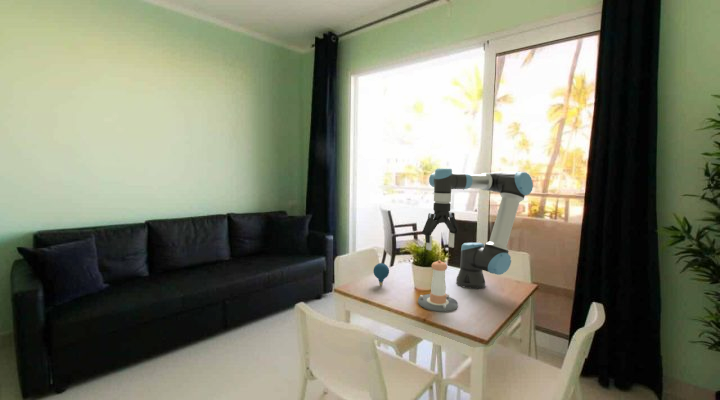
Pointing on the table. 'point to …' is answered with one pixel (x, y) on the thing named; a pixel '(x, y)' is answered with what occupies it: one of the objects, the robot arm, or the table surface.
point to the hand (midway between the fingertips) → (440, 248)
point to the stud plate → (445, 307)
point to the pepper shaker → (438, 283)
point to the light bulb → (381, 272)
